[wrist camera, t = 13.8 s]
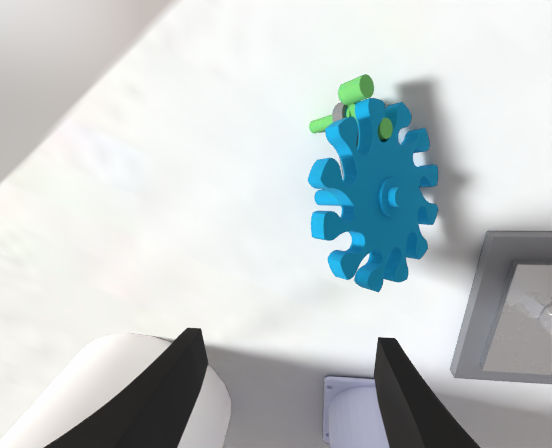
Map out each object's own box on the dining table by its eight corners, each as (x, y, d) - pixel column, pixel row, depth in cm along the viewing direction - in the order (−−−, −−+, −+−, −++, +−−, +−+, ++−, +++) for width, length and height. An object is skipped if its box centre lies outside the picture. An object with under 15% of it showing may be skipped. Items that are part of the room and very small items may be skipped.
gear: (455, 250, 19) (354, 332, 13) (376, 239, 23) (279, 297, 18) (438, 63, 16) (302, 76, 11) (352, 95, 21) (230, 114, 16)
